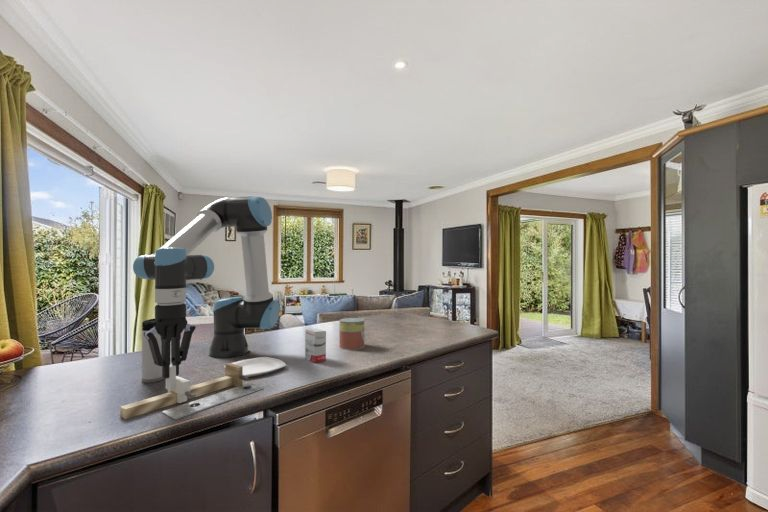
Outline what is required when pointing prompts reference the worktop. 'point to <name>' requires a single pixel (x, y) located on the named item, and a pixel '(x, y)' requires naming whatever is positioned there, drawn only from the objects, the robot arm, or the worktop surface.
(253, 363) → the plate
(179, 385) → the slider
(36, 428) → the worktop surface
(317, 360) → the ink box
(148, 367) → the travel mug
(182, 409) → the hole plate
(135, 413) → the beam
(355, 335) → the canned food
